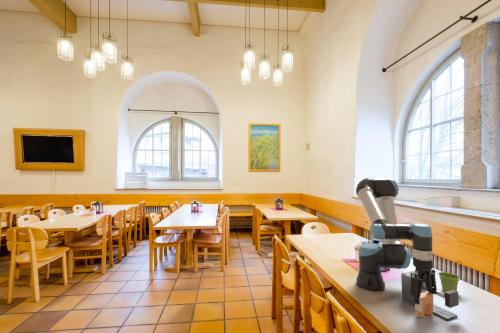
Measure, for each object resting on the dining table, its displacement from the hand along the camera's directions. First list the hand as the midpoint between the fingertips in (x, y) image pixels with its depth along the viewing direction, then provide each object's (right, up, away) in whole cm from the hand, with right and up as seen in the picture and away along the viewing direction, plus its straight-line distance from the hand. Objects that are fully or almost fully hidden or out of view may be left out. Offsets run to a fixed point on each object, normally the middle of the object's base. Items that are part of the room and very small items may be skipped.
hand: (424, 308), depth 111 cm
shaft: (+8, +3, +3) cm, 9 cm away
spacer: (0, -3, 0) cm, 3 cm away
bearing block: (+7, -3, +7) cm, 10 cm away
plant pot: (+31, -4, +23) cm, 38 cm away
